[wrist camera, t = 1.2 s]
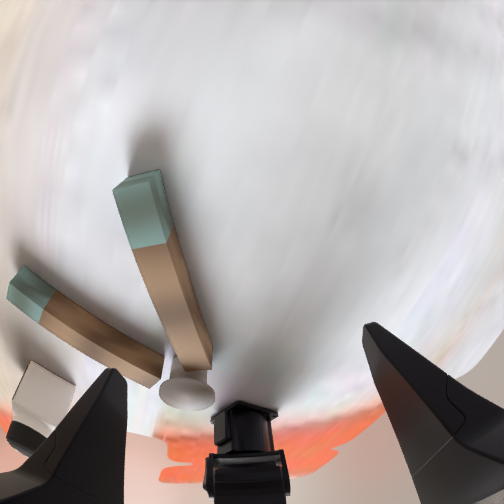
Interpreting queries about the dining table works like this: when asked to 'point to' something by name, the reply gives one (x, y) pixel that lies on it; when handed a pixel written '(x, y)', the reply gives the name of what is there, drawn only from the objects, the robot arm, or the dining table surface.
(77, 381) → the dining table surface
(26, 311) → the base
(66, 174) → the dining table surface
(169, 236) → the tong leg
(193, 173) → the dining table surface
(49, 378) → the medicine bottle
